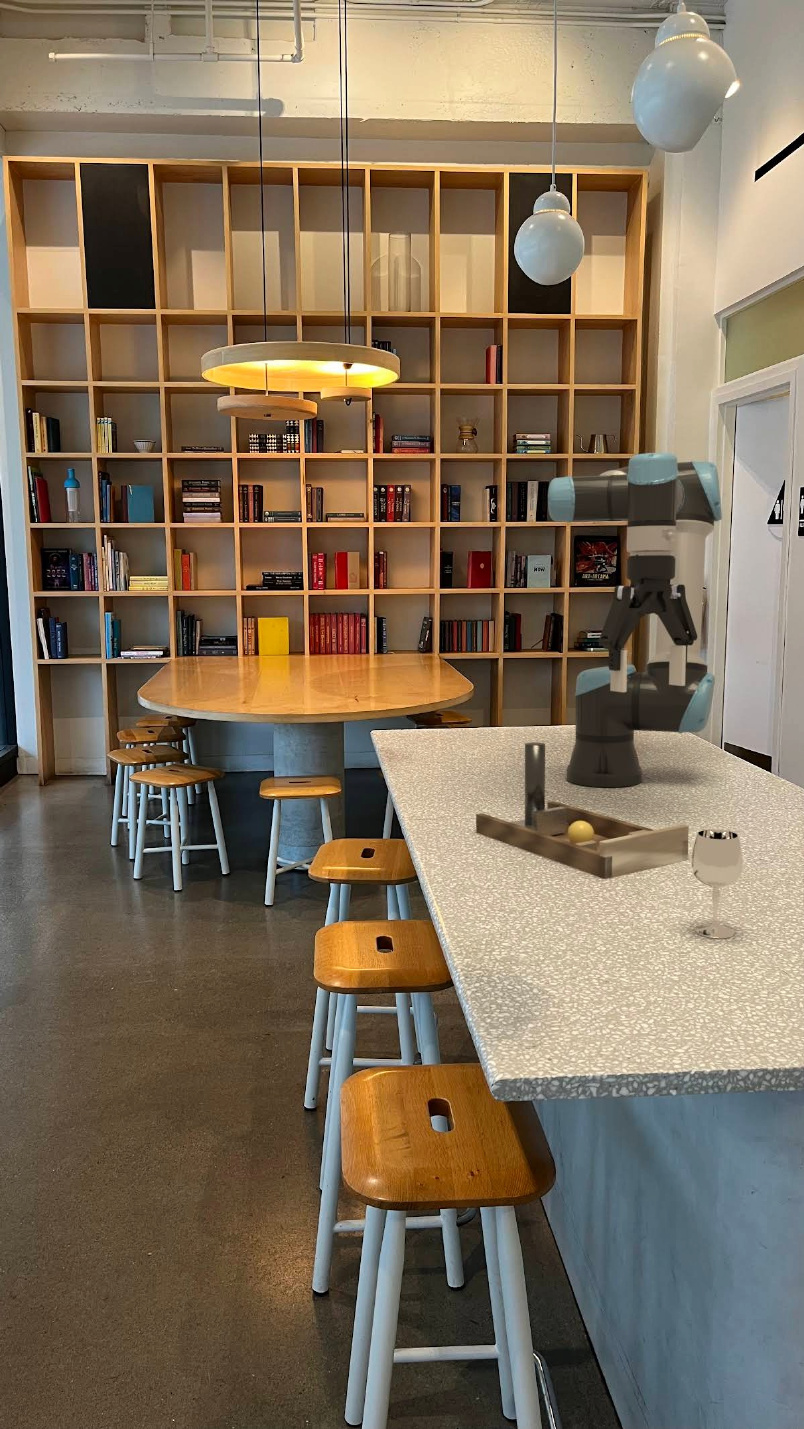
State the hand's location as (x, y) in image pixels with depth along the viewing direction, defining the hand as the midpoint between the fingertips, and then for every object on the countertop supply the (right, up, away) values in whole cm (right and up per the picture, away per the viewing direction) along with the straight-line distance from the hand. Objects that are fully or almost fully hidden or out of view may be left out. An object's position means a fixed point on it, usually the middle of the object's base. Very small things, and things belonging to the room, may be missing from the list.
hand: (648, 688), depth 164 cm
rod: (-18, -23, 0) cm, 29 cm away
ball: (-12, -24, -9) cm, 29 cm away
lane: (-13, -25, -8) cm, 29 cm away
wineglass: (-2, -30, -42) cm, 52 cm away
